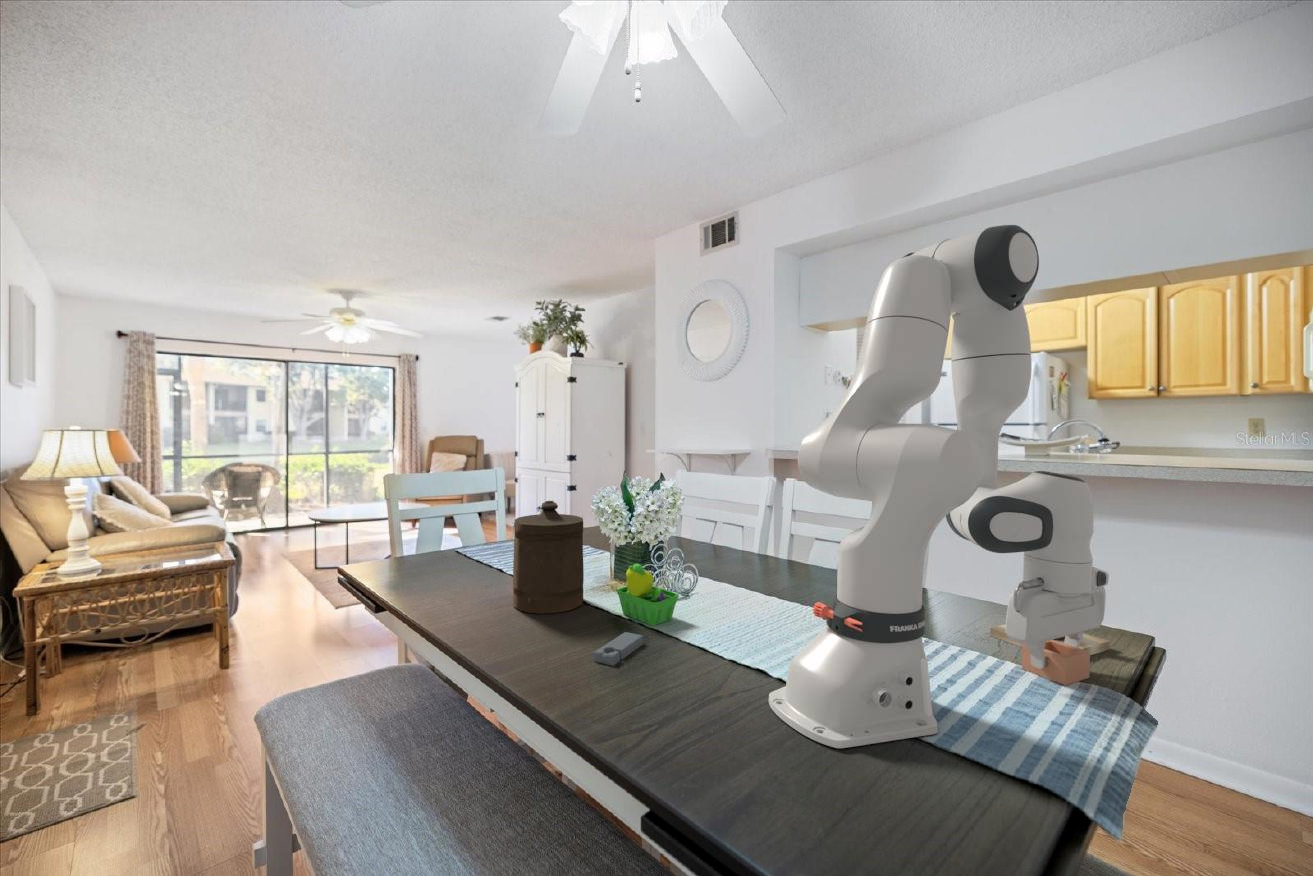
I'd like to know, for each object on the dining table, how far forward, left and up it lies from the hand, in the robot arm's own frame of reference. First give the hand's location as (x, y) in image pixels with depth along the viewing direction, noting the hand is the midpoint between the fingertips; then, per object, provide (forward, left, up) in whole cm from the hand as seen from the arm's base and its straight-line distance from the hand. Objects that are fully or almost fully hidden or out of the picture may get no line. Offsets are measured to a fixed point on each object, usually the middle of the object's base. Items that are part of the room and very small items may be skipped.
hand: (1054, 662), depth 90 cm
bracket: (-59, +36, -2) cm, 69 cm away
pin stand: (+12, +8, -2) cm, 15 cm away
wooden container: (-63, +67, -2) cm, 92 cm away
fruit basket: (-48, +50, -2) cm, 69 cm away
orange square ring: (0, 0, -2) cm, 2 cm away
